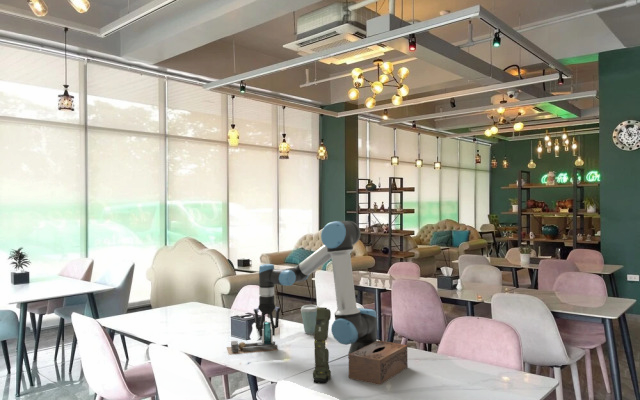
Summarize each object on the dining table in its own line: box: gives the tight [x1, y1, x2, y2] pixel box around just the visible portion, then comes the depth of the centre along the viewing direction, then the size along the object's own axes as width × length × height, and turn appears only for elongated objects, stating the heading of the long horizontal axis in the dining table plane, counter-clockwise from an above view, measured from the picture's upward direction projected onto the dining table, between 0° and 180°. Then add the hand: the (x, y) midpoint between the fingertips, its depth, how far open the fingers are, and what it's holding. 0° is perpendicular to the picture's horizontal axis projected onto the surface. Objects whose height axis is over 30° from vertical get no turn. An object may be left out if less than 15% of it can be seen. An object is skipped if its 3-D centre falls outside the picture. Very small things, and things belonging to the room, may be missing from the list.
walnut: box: [238, 341, 246, 350], centre depth 240 cm, size 4×4×4 cm
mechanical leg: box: [312, 306, 332, 385], centre depth 203 cm, size 14×7×30 cm, turn 168°
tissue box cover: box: [348, 339, 409, 386], centre depth 209 cm, size 26×14×10 cm, turn 145°
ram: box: [256, 321, 274, 346], centre depth 243 cm, size 8×4×11 cm, turn 105°
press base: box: [226, 340, 279, 356], centre depth 241 cm, size 24×13×5 cm, turn 105°
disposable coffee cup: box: [300, 304, 319, 335], centre depth 276 cm, size 11×11×15 cm
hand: (267, 342), depth 243 cm, fingers open, 4 cm apart
